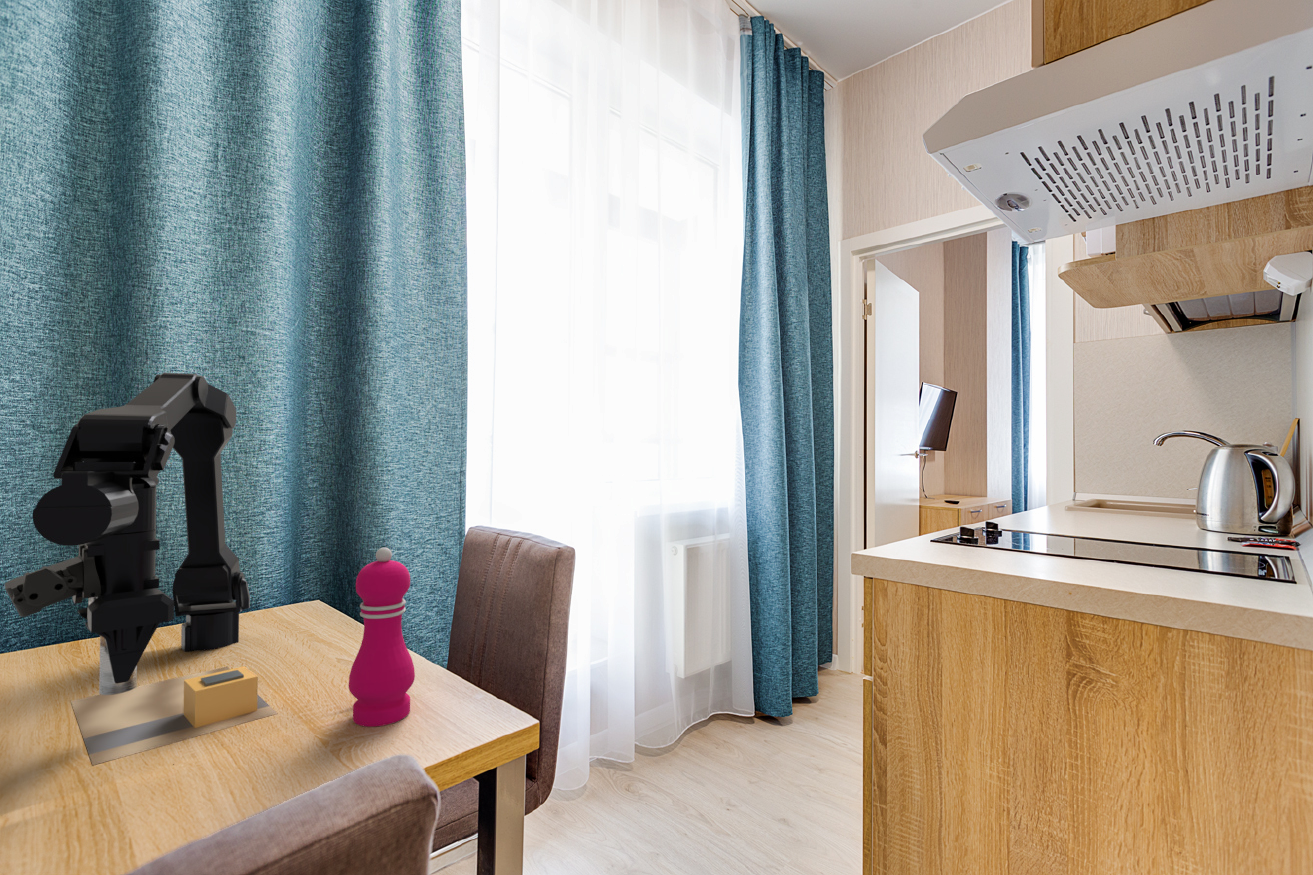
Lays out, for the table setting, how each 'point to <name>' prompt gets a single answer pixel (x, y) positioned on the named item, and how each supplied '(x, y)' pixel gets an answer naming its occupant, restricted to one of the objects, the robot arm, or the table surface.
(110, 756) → the beige flat piece
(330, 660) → the table surface
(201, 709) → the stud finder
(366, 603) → the pepper mill
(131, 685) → the metal peg
